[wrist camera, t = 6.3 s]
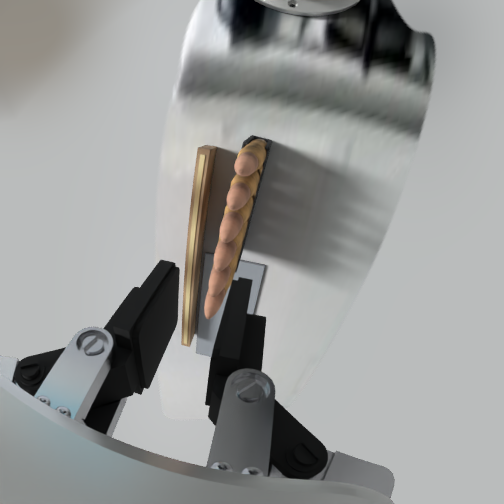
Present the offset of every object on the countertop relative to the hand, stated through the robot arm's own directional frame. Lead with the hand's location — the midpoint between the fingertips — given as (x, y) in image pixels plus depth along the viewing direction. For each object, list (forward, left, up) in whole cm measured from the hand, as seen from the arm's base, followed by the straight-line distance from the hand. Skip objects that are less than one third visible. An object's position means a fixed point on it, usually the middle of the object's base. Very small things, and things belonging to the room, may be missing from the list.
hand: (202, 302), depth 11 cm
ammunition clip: (0, 0, -16) cm, 16 cm away
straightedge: (+7, -4, -16) cm, 18 cm away
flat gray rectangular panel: (+14, 0, -16) cm, 21 cm away
